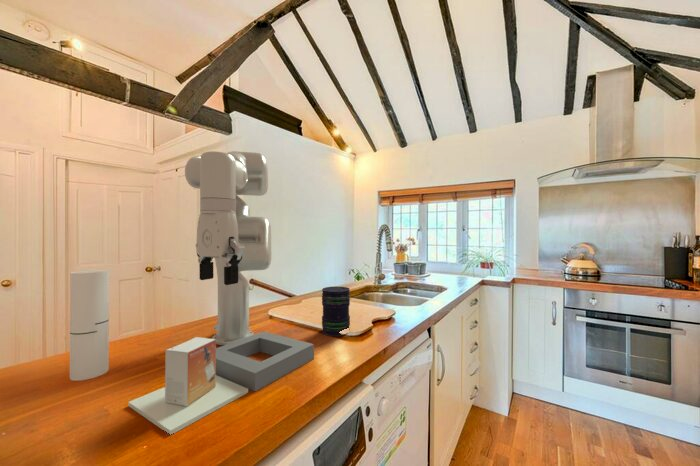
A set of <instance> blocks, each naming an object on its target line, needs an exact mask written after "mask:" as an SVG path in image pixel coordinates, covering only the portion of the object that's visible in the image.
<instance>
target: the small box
mask: <svg viewBox="0 0 700 466" xmlns="http://www.w3.org/2000/svg"><path fill="white" fill-rule="evenodd" d="M216 348H217V344H216V340H215V339H212V338H209V337H208V338H207V337H199V336H195V337H194V338H193V337H192V339H189V340H187V341H185V342H182V343H180V344H177V345H175V346H173V347H171V348H167V349H165V355H164V356H165V357H164V358H165V361H164V363H165V364H164V365H165V368H164V371H165V374H164V375H165V376H164V387H165V402H166V403H172V404H177V405H182V406H188V405H190V404H191V403H192V402H194V401H195V400H197V399H198V398H200V397H201V396H203V395H204V394H206V393H207V392H209V391H210V390H212V389H214V388H215V386H216Z"/></svg>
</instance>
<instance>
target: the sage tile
mask: <svg viewBox="0 0 700 466" xmlns="http://www.w3.org/2000/svg"><path fill="white" fill-rule="evenodd" d="M246 394H249V389H248V388H245V387H243V386H240V385H238V384H236V383H233V382H231V381H229V380H226V379H224V378H222V377H219V376H217V375H216V386H215V388H214V389H212V390H210V391H209V392H207V393H206V394H204V395H203V396H201V397H200V398H198V399H197V400H195V401H194V402H192V403H191V404H190V405H188V406H182V405H177V404H172V403H166V402H165V386H164V387H162V388H159V389H156V390H154V391H151V392H149V393H146V394H144V395H143V396H140V397H137V398H134V399H132V400H130V401H128V407H129V408H130V409H132V410H134V411H135V412H136V413H138V414H139V415H140V416H142V417H143V418H145V419H146V420H148V421H149V422H151V423H152V424H154V425H155V426H156V427H158V428H160V429H161V430H162V431H163V430H164V431H163V432H165V431H166V432H167V433H166V432H165V433H166V434H168V433H169V434H170V435H169V434H168V435H169V436H172V435H173V433H174V434H176V433H177V432H179V431H182V430H183V429H185V428H186V427H188V426H190V425H192V424H193V423H195V422H197V421H199V420H201V419H203V418H204V417H206V416H208V415H210V414H211V413H213V412H215V411H217V410H219V409H222V407H224V406H226V405H228V404H230V403H231V402H233V401H235V400H238V399H239V398H240V397H243V396H244V395H246ZM171 434H172V435H171Z"/></svg>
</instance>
